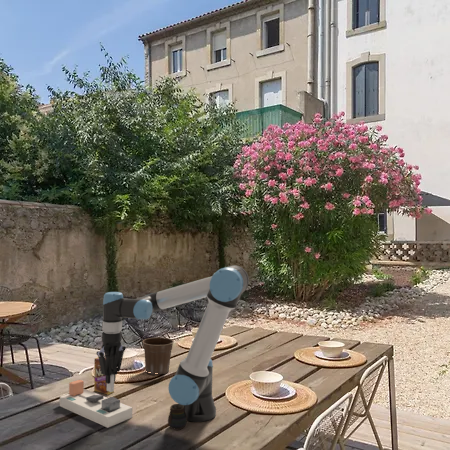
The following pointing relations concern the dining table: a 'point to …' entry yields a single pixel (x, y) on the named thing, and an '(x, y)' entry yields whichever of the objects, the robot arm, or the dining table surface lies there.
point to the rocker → (94, 398)
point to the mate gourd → (177, 417)
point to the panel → (95, 409)
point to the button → (110, 404)
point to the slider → (76, 387)
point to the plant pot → (157, 355)
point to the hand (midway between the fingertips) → (110, 390)
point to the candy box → (99, 379)
